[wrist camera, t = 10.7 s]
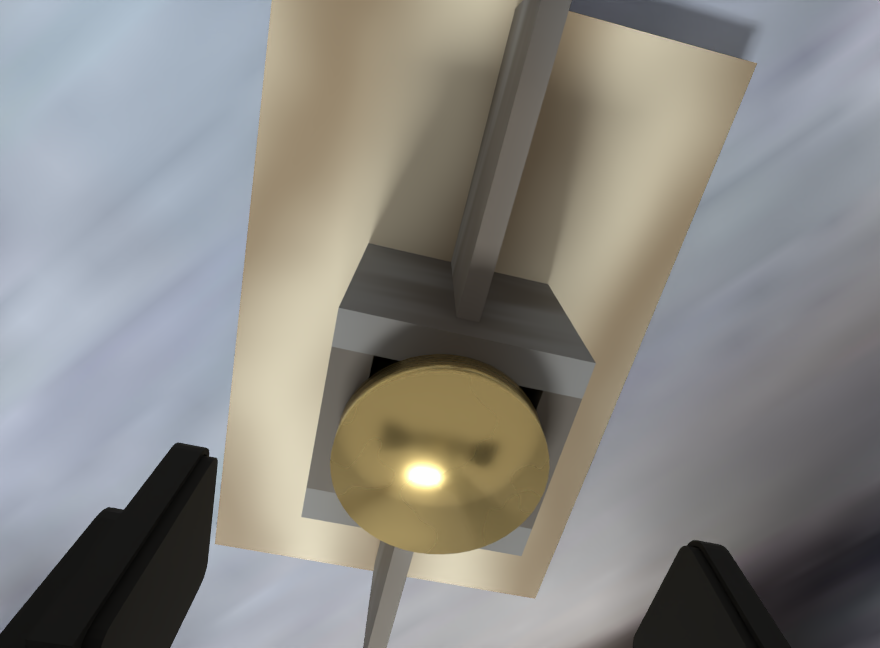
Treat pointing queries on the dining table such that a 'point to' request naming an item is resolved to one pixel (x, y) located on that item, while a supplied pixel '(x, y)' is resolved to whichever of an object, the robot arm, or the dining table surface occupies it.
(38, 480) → the dining table surface
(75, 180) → the dining table surface
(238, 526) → the hinge base
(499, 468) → the round gold knob
